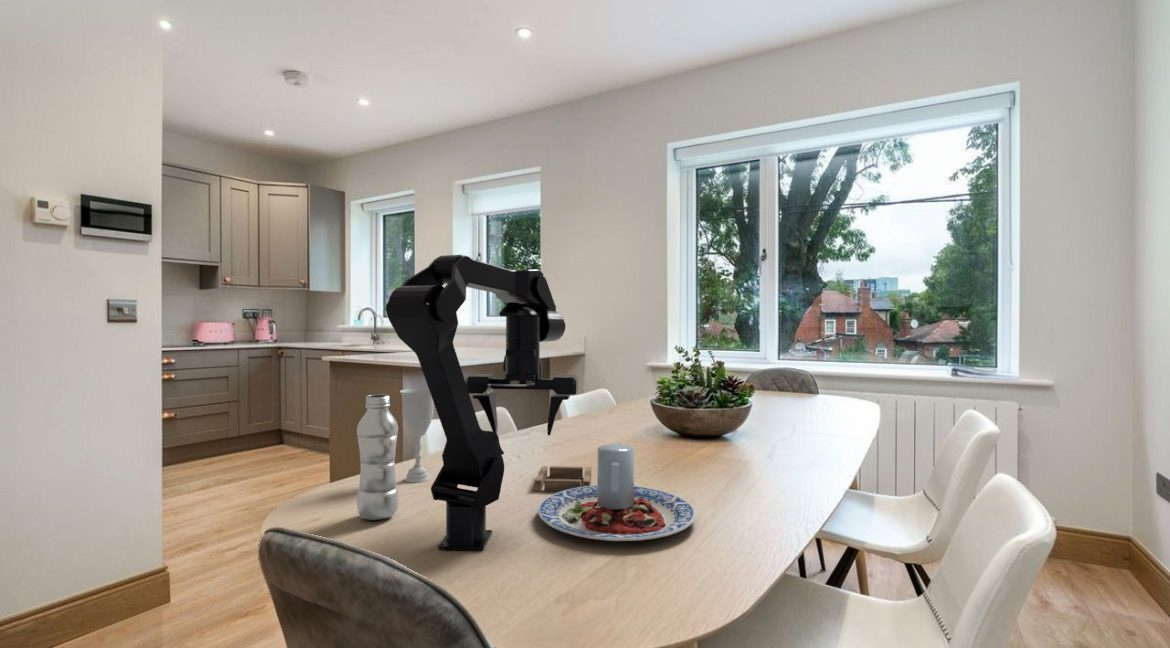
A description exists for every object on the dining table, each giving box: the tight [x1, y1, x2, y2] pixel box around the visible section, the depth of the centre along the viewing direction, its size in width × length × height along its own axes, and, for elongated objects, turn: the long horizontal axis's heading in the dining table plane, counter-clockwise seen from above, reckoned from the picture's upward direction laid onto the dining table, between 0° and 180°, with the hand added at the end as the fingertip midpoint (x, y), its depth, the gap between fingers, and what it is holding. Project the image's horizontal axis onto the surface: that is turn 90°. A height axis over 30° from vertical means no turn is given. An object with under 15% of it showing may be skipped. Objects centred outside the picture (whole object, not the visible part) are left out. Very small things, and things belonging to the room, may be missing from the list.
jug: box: [597, 443, 635, 509], centre depth 91 cm, size 6×10×9 cm, turn 176°
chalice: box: [399, 388, 435, 484], centre depth 114 cm, size 7×7×18 cm
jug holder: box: [534, 465, 592, 492], centre depth 112 cm, size 10×10×2 cm
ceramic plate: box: [537, 484, 697, 542], centre depth 92 cm, size 26×26×3 cm
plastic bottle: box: [356, 394, 400, 521], centre depth 92 cm, size 6×7×20 cm
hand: (522, 434), depth 96 cm, fingers open, 9 cm apart
